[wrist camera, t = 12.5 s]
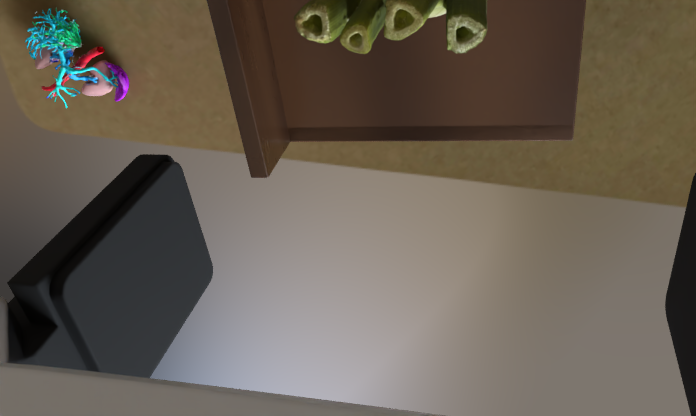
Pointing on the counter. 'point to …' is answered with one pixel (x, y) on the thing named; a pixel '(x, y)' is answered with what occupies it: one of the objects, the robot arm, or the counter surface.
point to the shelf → (399, 79)
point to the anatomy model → (63, 50)
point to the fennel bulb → (390, 21)
